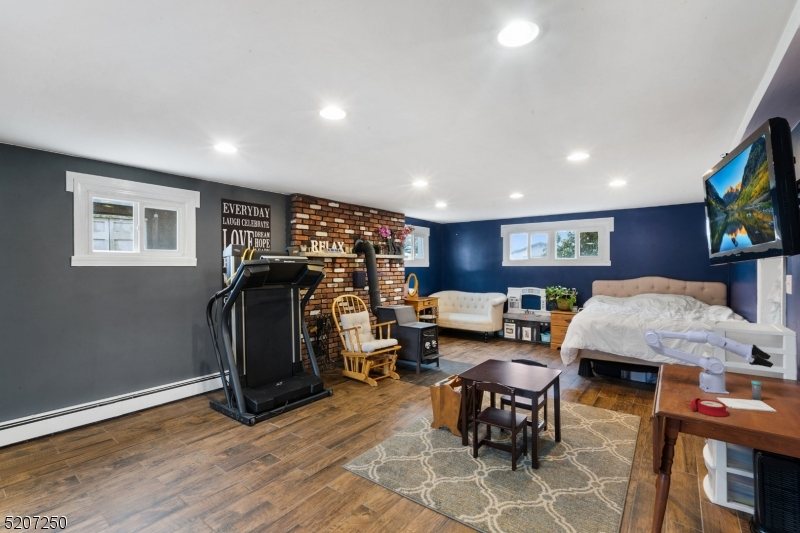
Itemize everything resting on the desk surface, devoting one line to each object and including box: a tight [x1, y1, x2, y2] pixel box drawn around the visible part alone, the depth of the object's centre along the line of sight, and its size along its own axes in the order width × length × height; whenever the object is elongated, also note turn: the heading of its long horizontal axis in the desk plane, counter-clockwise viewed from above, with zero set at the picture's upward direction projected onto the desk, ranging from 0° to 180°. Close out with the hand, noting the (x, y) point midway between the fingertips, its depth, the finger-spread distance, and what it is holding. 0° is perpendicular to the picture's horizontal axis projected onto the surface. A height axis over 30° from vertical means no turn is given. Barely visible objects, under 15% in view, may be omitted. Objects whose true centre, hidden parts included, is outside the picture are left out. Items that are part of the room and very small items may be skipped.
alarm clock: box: [684, 397, 733, 418], centre depth 160 cm, size 10×6×15 cm
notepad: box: [716, 397, 777, 413], centre depth 165 cm, size 16×12×1 cm
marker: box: [750, 380, 762, 401], centre depth 171 cm, size 3×3×8 cm
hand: (770, 361), depth 173 cm, fingers open, 7 cm apart
